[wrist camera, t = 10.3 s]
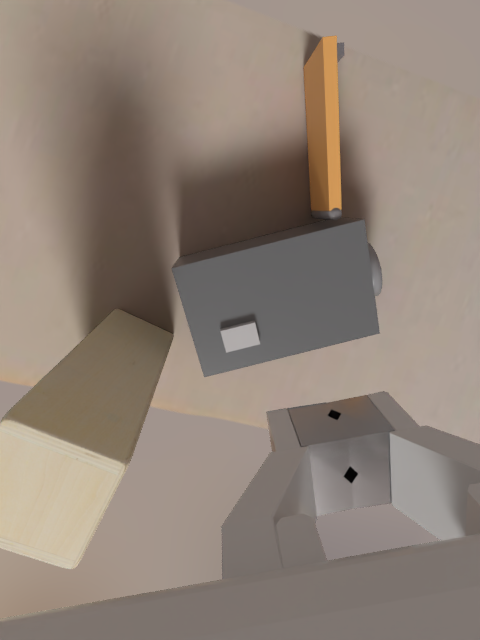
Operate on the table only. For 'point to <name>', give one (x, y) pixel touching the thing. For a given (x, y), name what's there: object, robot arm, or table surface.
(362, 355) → the table surface
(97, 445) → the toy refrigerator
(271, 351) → the gray box
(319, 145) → the door
